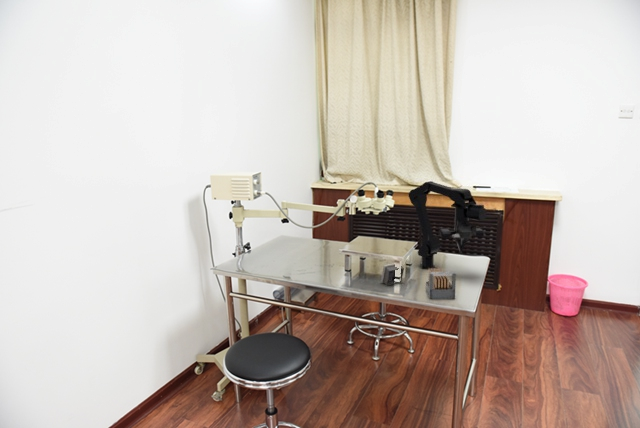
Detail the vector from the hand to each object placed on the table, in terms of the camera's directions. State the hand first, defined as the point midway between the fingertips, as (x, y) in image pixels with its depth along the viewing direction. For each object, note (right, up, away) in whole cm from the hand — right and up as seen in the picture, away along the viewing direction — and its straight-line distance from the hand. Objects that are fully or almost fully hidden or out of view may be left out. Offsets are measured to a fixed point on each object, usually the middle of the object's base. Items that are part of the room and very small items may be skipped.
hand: (460, 251), depth 184 cm
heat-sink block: (-14, -16, -13) cm, 25 cm away
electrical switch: (-31, -14, -2) cm, 34 cm away
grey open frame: (-14, -16, -17) cm, 28 cm away
